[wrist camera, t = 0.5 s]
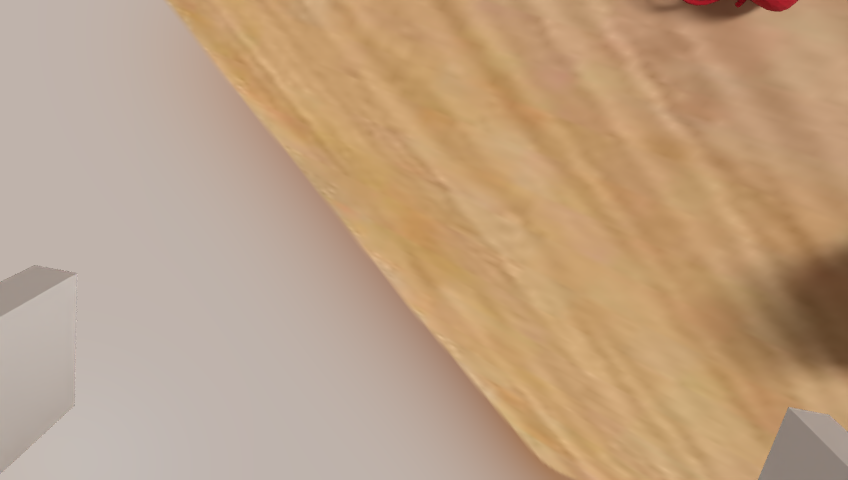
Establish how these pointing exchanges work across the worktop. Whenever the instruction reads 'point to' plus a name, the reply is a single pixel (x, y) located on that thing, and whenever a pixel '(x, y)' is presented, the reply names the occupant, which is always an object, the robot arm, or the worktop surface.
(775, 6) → the alarm clock
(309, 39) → the worktop surface
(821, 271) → the worktop surface
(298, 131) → the worktop surface
